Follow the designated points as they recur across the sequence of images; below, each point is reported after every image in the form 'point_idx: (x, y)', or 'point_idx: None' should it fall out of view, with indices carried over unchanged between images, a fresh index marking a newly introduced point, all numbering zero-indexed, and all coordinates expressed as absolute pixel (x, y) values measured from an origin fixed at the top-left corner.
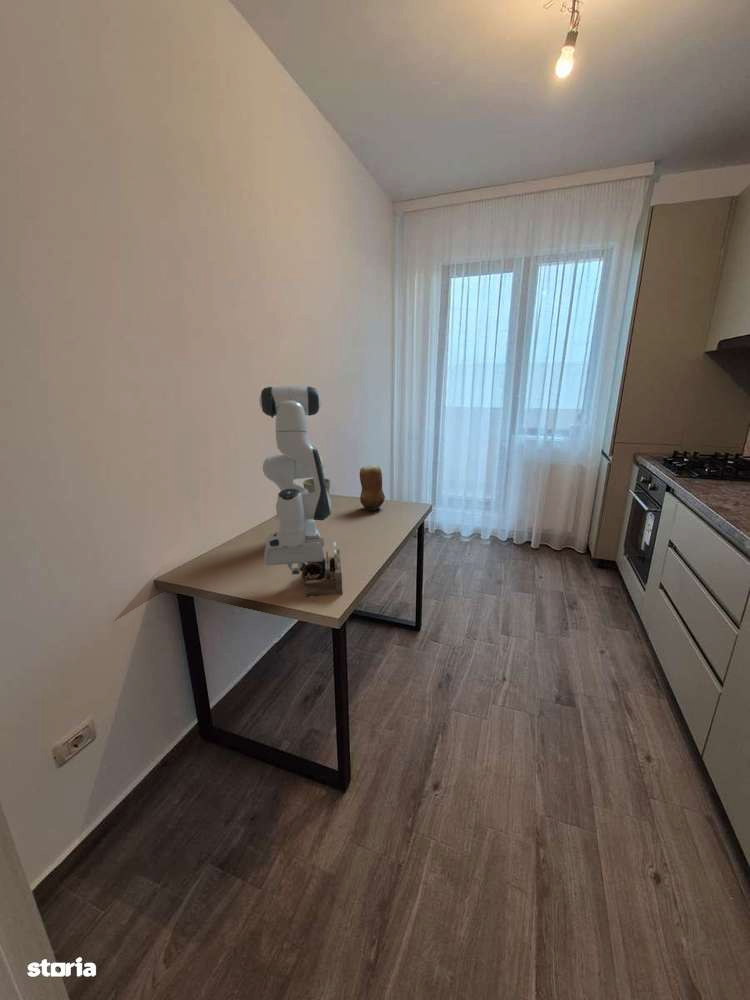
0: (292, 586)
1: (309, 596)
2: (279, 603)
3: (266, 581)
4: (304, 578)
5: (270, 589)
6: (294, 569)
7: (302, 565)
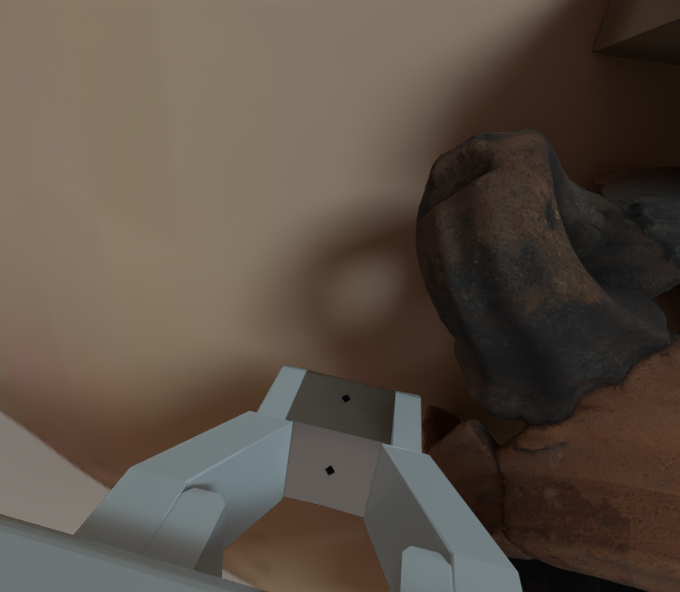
0: (314, 347)
1: None
2: None
3: (16, 123)
4: None
5: (103, 322)
6: (303, 477)
7: (508, 354)
